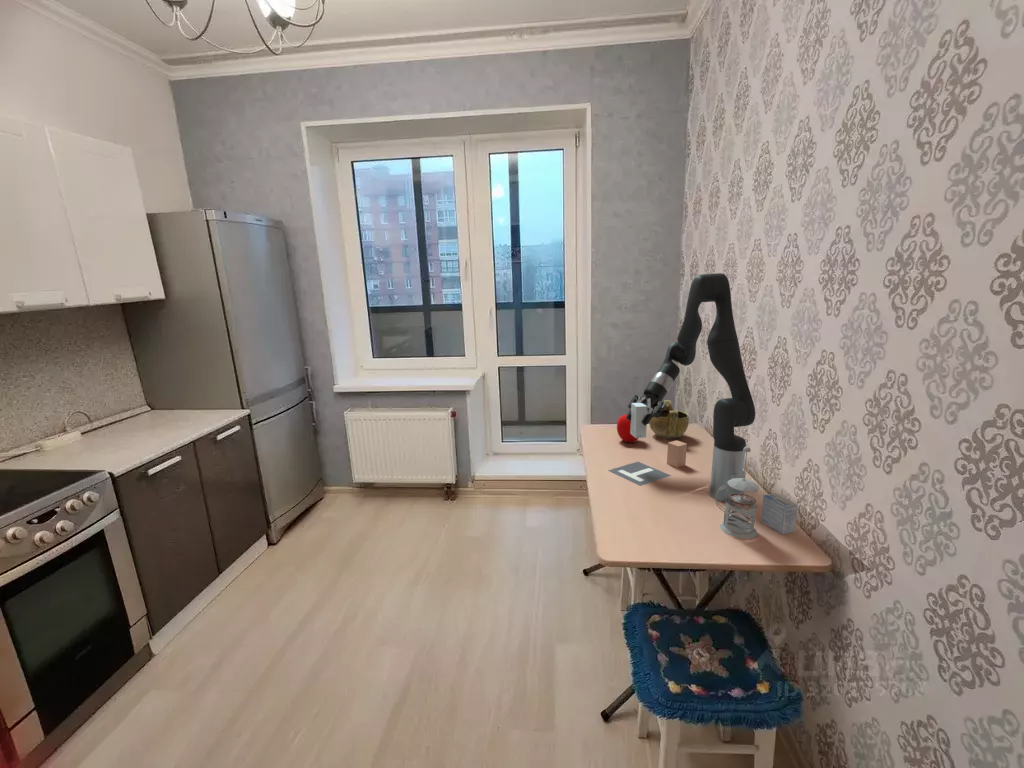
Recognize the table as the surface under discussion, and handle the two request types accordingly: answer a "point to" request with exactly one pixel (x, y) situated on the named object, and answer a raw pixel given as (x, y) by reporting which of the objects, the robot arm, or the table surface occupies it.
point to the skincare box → (638, 420)
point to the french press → (735, 522)
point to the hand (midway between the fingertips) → (635, 421)
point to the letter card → (639, 473)
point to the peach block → (676, 453)
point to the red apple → (625, 429)
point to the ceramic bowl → (670, 422)
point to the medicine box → (779, 513)
